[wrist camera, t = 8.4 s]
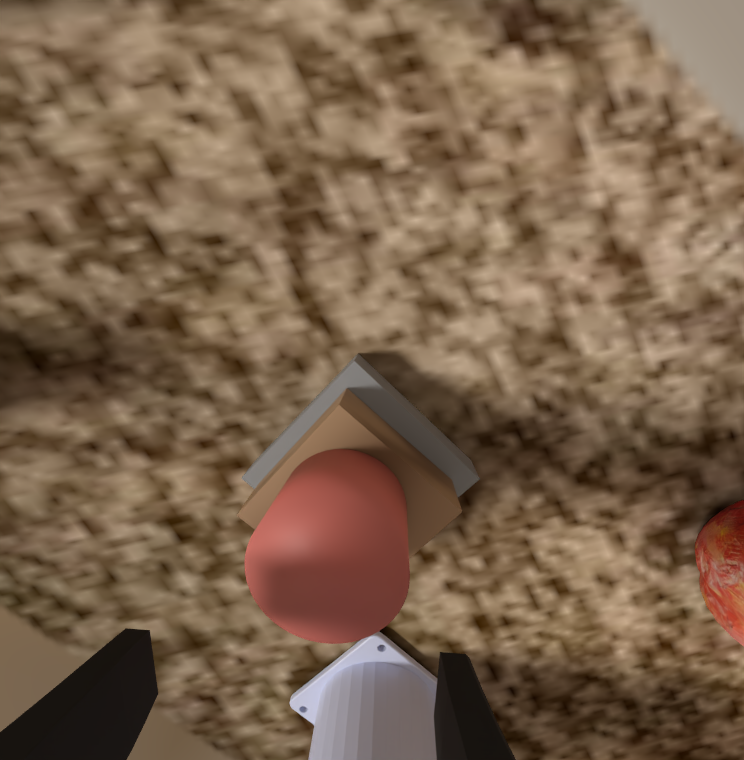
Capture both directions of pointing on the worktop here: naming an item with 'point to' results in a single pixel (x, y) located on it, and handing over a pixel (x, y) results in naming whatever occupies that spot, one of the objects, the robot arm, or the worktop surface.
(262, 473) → the tower base block
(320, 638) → the red rounded block
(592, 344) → the worktop surface
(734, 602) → the red apple
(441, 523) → the tower top block
